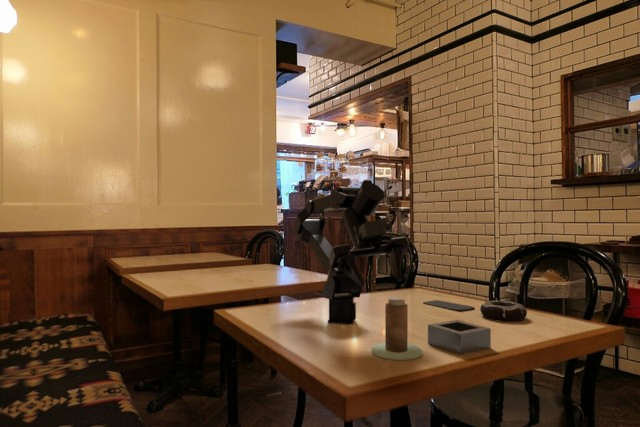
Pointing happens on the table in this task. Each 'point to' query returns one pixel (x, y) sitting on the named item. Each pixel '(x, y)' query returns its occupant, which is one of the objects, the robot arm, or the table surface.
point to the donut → (503, 311)
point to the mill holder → (459, 336)
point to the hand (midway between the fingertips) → (381, 283)
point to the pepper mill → (396, 325)
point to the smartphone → (449, 305)
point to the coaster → (410, 354)
